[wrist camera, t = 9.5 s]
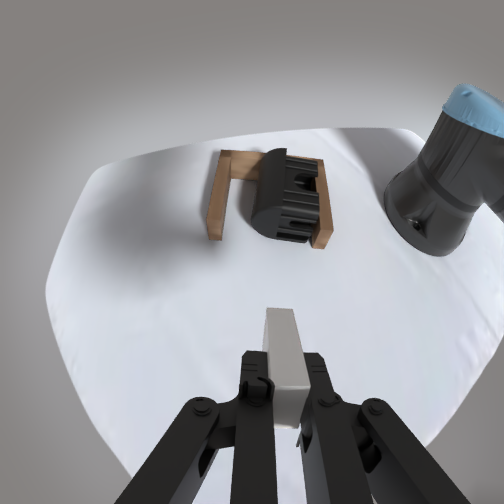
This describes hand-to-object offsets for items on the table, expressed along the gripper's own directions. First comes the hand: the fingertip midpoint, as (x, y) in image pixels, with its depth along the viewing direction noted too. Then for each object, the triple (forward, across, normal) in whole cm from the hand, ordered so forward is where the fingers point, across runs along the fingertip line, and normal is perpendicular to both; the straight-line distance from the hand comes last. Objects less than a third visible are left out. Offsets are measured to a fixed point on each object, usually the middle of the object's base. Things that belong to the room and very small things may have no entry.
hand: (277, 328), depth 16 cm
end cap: (+22, +2, +4) cm, 23 cm away
